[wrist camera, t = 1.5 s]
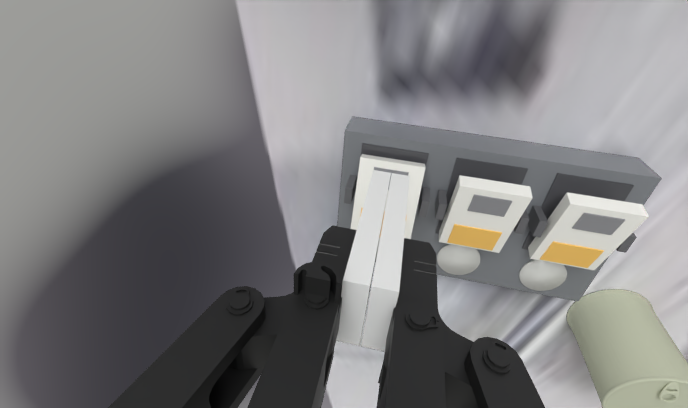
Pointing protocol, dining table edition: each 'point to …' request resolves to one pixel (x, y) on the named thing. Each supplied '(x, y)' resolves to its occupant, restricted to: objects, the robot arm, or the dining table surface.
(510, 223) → the rocker middle
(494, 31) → the dining table surface
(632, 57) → the dining table surface
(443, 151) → the rocker switch panel
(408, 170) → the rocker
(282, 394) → the robot arm
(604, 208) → the rocker
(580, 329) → the can
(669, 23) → the dining table surface
